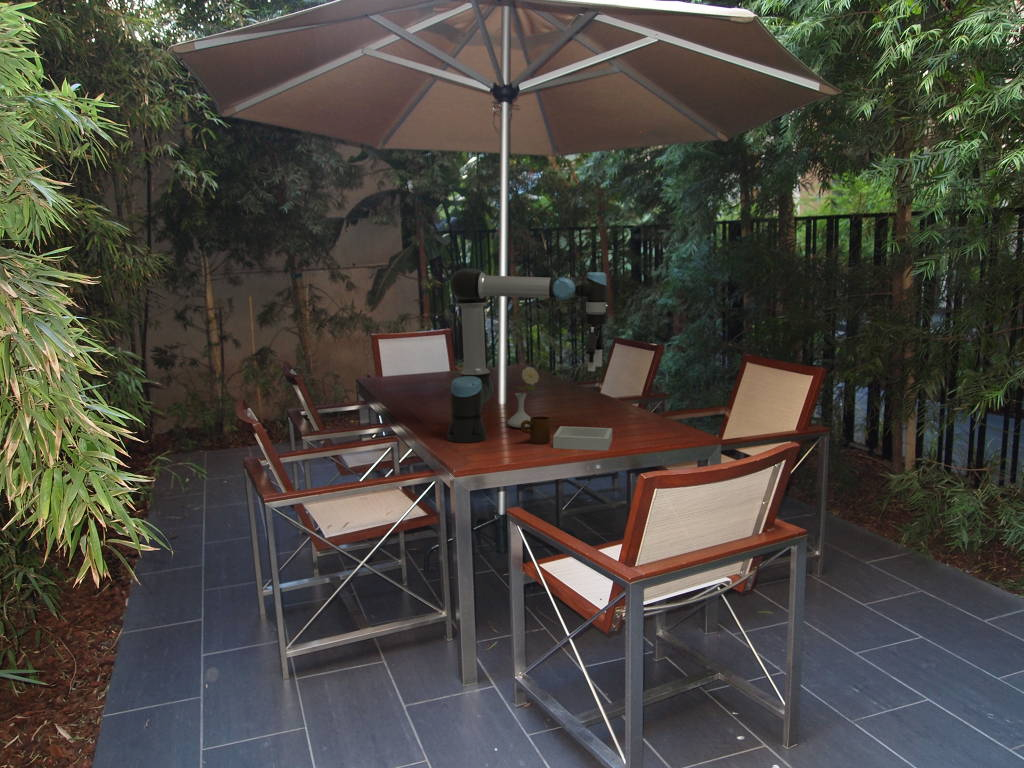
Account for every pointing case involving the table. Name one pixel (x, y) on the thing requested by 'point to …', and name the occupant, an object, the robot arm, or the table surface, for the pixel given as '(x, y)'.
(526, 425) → the flower in vase
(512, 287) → the robot arm
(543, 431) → the mug
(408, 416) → the table surface
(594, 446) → the tray
